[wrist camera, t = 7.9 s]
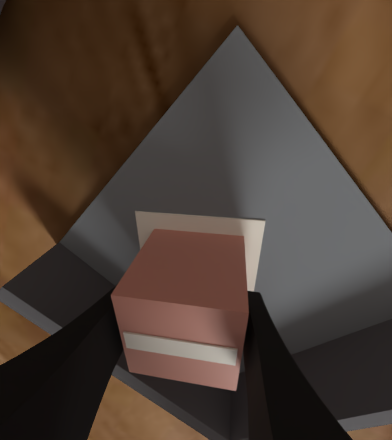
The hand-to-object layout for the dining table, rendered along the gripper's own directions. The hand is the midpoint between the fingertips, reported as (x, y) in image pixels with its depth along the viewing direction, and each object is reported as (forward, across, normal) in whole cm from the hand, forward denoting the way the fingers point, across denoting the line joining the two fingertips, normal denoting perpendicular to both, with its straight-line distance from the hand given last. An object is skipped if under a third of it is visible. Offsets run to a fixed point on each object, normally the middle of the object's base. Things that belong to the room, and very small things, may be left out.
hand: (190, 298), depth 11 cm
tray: (+3, -2, +1) cm, 4 cm away
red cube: (+2, 0, 0) cm, 2 cm away
